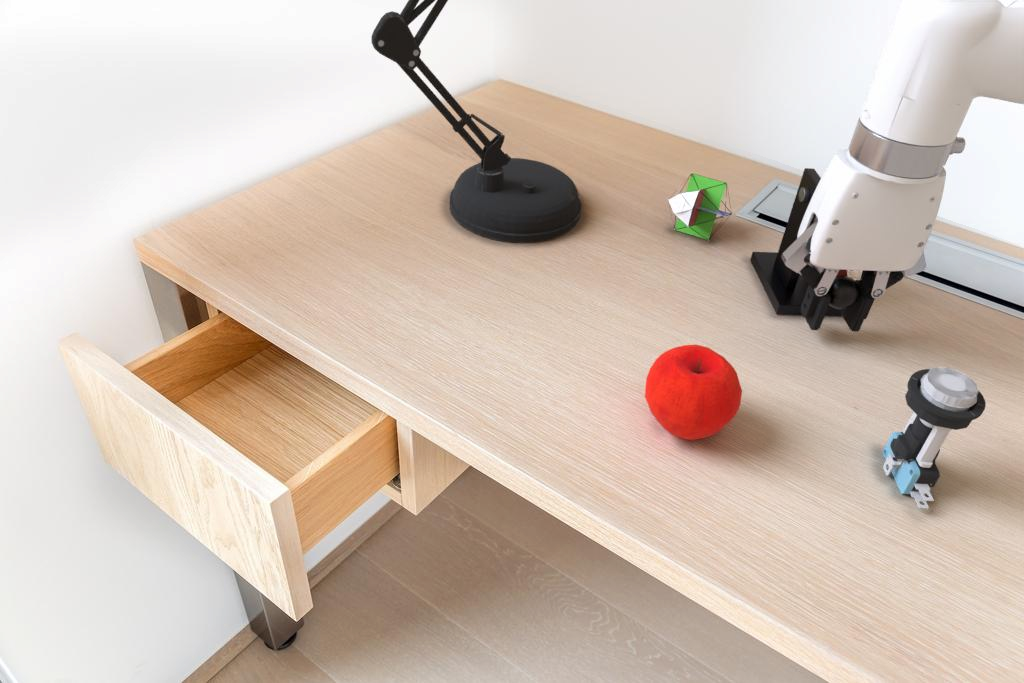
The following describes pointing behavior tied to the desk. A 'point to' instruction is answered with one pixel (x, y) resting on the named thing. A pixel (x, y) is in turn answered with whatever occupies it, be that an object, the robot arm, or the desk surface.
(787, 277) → the bracket
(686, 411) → the apple
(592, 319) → the desk surface
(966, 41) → the robot arm
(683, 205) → the geometric puzzle
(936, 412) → the push button
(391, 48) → the desk lamp
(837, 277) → the lever
